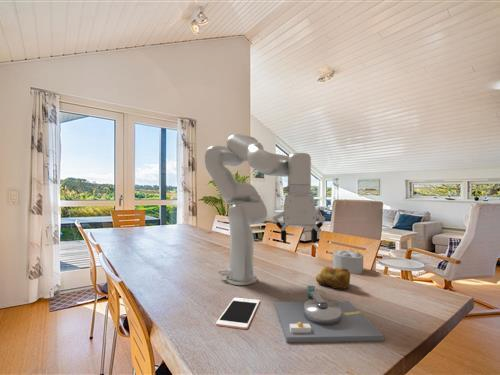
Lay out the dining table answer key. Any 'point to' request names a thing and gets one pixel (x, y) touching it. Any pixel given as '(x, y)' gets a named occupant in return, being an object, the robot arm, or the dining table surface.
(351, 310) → the stand
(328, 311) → the dial
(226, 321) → the cell phone
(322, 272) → the brown irregular lump
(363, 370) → the dining table surface
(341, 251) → the lumpy-topped squat cylinder
